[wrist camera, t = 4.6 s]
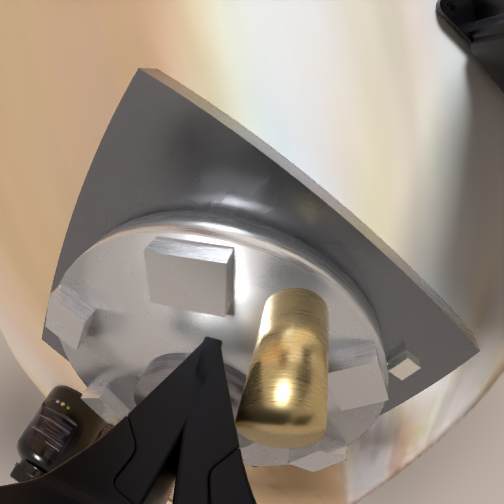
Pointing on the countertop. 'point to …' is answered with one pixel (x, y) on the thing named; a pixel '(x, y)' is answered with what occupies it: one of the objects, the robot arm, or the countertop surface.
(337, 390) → the lugged silver disc
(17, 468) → the supplement bottle
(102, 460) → the robot arm
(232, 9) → the countertop surface
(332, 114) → the countertop surface
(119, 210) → the flat gray square plate
